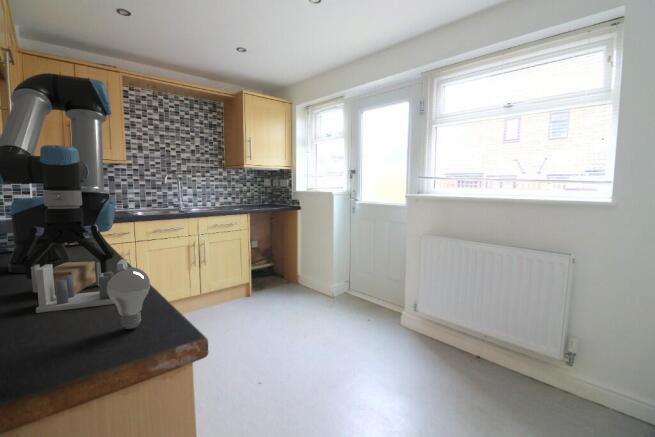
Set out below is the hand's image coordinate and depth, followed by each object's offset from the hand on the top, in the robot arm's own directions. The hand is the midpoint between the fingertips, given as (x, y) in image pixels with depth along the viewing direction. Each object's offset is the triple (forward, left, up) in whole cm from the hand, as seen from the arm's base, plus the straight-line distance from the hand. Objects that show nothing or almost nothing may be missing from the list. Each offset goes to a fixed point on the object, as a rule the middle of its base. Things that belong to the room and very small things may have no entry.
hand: (70, 287), depth 84 cm
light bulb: (+33, +19, 0) cm, 38 cm away
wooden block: (0, 0, 0) cm, 0 cm away
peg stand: (+13, +7, 0) cm, 15 cm away
